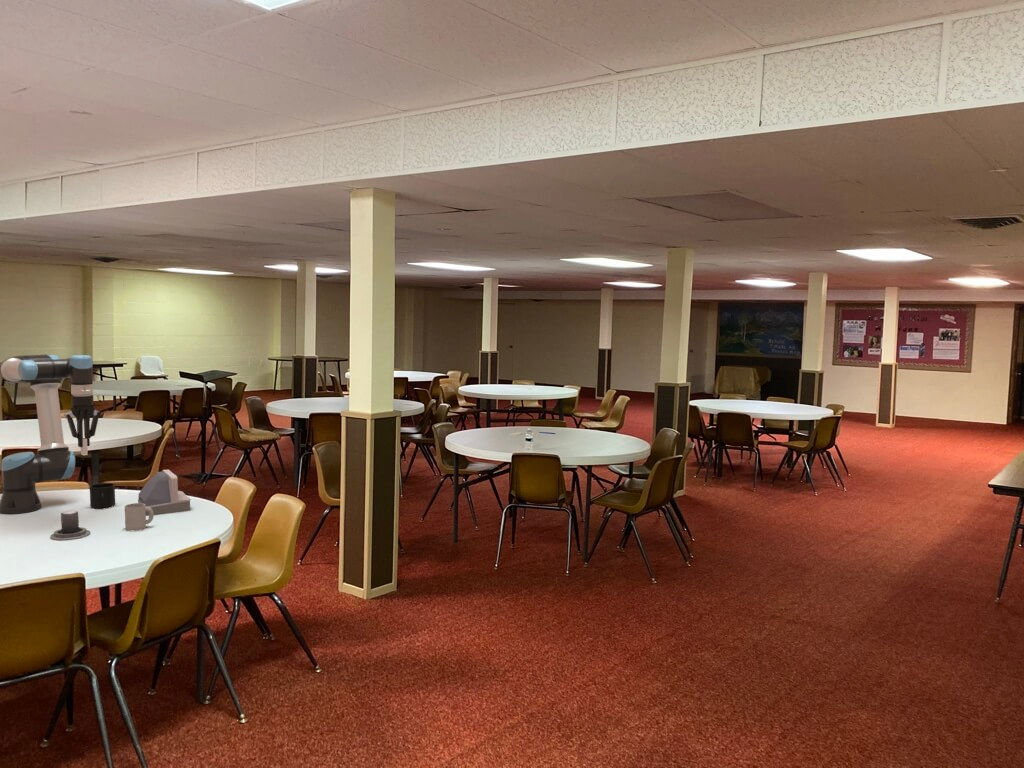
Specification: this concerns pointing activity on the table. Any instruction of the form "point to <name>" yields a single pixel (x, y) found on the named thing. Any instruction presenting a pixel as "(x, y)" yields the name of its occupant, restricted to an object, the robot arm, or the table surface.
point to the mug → (102, 495)
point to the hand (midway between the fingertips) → (84, 454)
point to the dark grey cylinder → (69, 522)
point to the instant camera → (164, 494)
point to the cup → (137, 516)
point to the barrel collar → (59, 536)
